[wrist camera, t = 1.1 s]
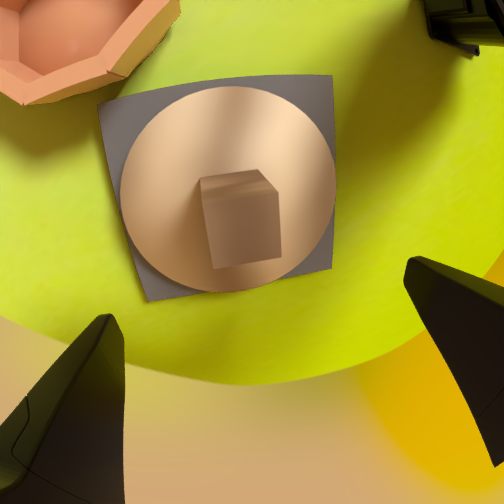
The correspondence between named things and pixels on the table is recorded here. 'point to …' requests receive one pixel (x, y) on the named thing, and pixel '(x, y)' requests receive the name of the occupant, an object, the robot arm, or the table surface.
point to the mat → (154, 101)
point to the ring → (76, 44)
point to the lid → (228, 189)
